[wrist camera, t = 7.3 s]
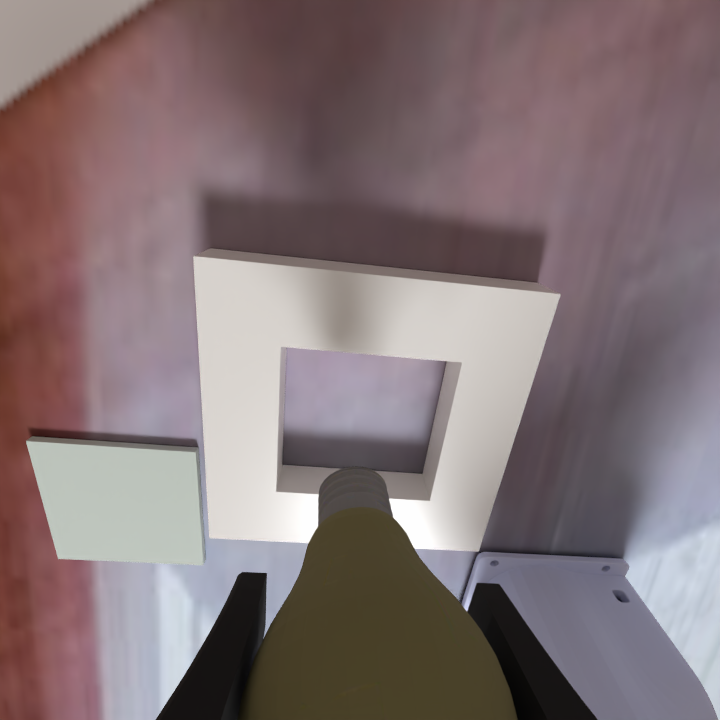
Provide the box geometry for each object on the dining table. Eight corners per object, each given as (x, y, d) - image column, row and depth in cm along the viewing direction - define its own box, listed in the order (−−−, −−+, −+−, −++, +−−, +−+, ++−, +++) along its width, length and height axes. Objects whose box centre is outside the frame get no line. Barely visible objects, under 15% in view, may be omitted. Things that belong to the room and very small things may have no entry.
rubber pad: (198, 447, 20) (195, 452, 20) (205, 559, 23) (203, 565, 23) (32, 436, 19) (26, 441, 19) (62, 552, 23) (58, 558, 22)
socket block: (537, 282, 17) (560, 294, 15) (467, 522, 23) (478, 551, 21) (210, 248, 16) (193, 256, 14) (220, 508, 22) (209, 538, 20)
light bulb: (306, 392, 13) (277, 928, 4) (452, 440, 14) (684, 910, 5) (253, 513, 15) (152, 1046, 6) (386, 544, 16) (469, 1009, 7)
